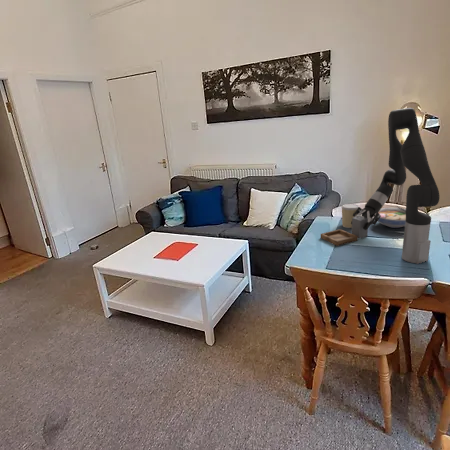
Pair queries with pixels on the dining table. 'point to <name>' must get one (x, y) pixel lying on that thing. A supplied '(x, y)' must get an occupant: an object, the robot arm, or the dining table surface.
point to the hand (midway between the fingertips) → (358, 226)
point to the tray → (339, 237)
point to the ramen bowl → (392, 217)
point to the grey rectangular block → (359, 226)
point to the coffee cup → (348, 214)
